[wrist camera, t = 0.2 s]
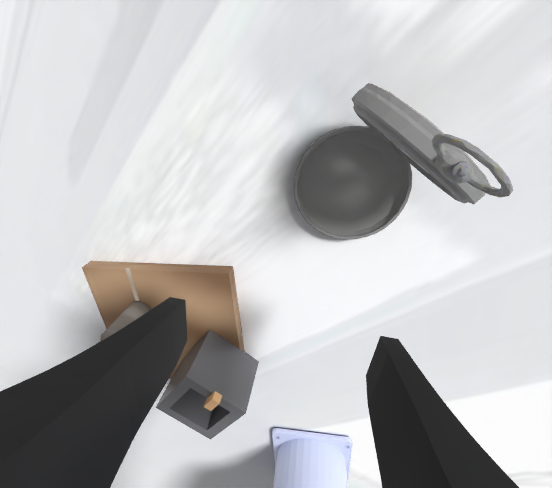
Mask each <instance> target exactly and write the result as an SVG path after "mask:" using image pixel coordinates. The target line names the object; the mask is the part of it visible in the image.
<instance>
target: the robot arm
mask: <svg viewBox="0 0 552 488" xmlns="http://www.w3.org/2000/svg"><path fill="white" fill-rule="evenodd" d="M186 342H187V321H186V302H185V300H183V299H178V298H173V297H169V298H168V299H166V300H165V301H163V302H162V303H160V304H159V305H157V306H156V307H154V308H153V309H151V310H150V311H148V312H147V313H145V314H144V315H142V316H141V317H139V318H138V319H136V320H135V321H133V322H131V323H130V324H128V325H127V326H125V327H124V328H122V329H121V330H119V331H117V332H116V333H114V334H112V335H111V336H109V337H107V338H106V339H104V340H102V341H101V342H99V343H97V344H96V345H94V346H92V347H91V348H89V349H87V350H85V351H84V352H82V353H80V354H78V355H76V356H74V357H73V358H71V359H69V360H67V361H65V362H63V363H61V364H59V365H57V366H55V367H53V368H51V369H49V370H47V371H45V372H43V373H41V374H38V375H36V376H34V377H32V378H30V379H27V380H25V381H23V382H21V383H18V384H16V385H14V386H12V387H10V388H7V389H5V390H3V391H0V488H110V487H111V484H112V482H113V480H114V478H115V476H116V474H117V472H118V469H119V467H120V465H121V463H122V461H123V459H124V457H125V455H126V453H127V451H128V449H129V447H130V445H131V443H132V441H133V439H134V437H135V435H136V433H137V431H138V429H139V428H140V426H141V424H142V422H143V421H144V419H145V417H146V416H147V414H148V412H149V411H150V409H151V407H152V406H153V404H154V402H155V401H156V399H157V397H158V396H159V394H160V392H161V391H162V389H163V387H164V386H165V384H166V382H167V380H168V379H169V377H170V375H171V374H172V372H173V370H174V368H175V367H176V365H177V363H178V360H179V358H180V356H181V354H182V352H183V349H184V347H185V345H186ZM366 382H367V399H368V408H369V414H370V420H371V426H372V431H373V437H374V442H375V448H376V453H377V459H378V464H379V470H380V475H381V481H382V488H519V487H518V486H517V485H516V484H515V483H514V482H513V481H512V480H511V479H510V478H509V477H508V476H507V475H506V474H505V472H504V471H503V470H502V469H501V468H500V467H499V466H498V465H497V464H496V463H495V462H494V460H493V459H492V458H491V457H490V456H489V455H488V454H487V453H486V452H485V451H484V450H483V448H482V447H481V446H480V445H479V444H478V443H477V442H476V441H475V439H474V438H473V437H472V436H471V435H470V434H469V432H468V431H467V430H466V429H465V428H464V426H463V425H462V424H461V423H460V421H459V420H458V419H457V418H456V417H455V415H454V414H453V413H452V412H451V411H450V409H449V408H448V407H447V405H446V404H445V403H444V402H443V400H442V399H441V398H440V396H439V395H438V394H437V392H436V391H435V390H434V388H433V387H432V386H431V384H430V383H429V382H428V380H427V379H426V378H425V376H424V375H423V373H422V372H421V371H420V369H419V368H418V366H417V365H416V364H415V362H414V361H413V359H412V358H411V356H410V355H409V354H408V352H407V351H406V349H405V348H404V347H403V345H402V344H401V342H400V341H399V340H398V339H394V338H389V337H384V336H380V339H379V342H378V344H377V347H376V350H375V352H374V355H373V358H372V361H371V363H370V366H369V369H368V372H367V374H366ZM272 439H273V450H274V461H275V475H274V483H273V488H348V487H347V484H348V476H349V467H350V459H351V451H352V439H351V438H349V437H344V436H336V435H328V434H320V433H312V432H304V431H296V430H288V429H280V428H274V429H273V431H272Z"/></svg>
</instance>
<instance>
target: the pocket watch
mask: <svg viewBox="0 0 552 488" xmlns="http://www.w3.org/2000/svg"><path fill="white" fill-rule="evenodd" d="M352 101H353V103H354V110H355V112H356V114H357V115H358V116H359V117H360V118H361V119H362V120H363V121H364V122H365V123H366V124H367V125H368V126H369V127H367V126H349V127H344V128H340V129H336V130H334V131H332V132H330V133H328V134H326V135H324V136H322V137H321V138H319V139H318V140H317V141H316V142H315V143H314V144H313V145H312V146H311V147H310V148H309V149H308V150H307V151H306V152H305V153H304V155H303V158H302V160H301V162H300V164H299V166H298V168H297V171H296V174H295V184H294V192H295V198H296V203H297V205H298V208H299V210H300V212H301V214H302V215H303V217H304V218H305V219H306V221H307V222H308V223H309V224H310V225H311V226H313V227H314V228H315V229H316V230H318V231H320V232H321V233H323V234H325V235H328V236H331V237H334V238H339V239H358V238H363V237H367V236H370V235H373V234H375V233H377V232H379V231H381V230H383V229H384V228H386V227H387V226H388V225H389V224H390V223H392V222H393V221H394V220H395V219H396V218H397V216H398V215H399V214H400V213H401V211H402V210H403V209H404V207H405V205H406V203H407V201H408V198H409V194H410V191H411V187H412V171H411V167H410V164H411V165H413V166H414V167H415V168H416V169H417V170H418V171H420V172H421V173H422V174H423V175H424V176H426V177H427V178H428V179H429V180H431V181H432V182H433V183H434V184H435V185H437V186H438V187H439V188H441V189H442V190H443V191H444V192H446V193H447V194H448V195H450V196H451V197H452V198H454V199H455V200H457V201H460V202H462V203H467V202H469V203H472V204H475V203H476V202H477V201H478V200H480V199H481V198H482V197H483V196H484V195H485V193H487V194H489V195H493V196H497V197H505V196H509V195H510V194H511V192H512V191H513V187H512V184H511V182H510V179H509V177H508V176H507V175H506V173H505V172H504V171H503V170H502V168H501V167H500V166H499V165H498V164H497V163H496V162H495V161H493V160H492V159H491V158H490V157H489V156H487V155H486V154H485V153H484V152H483V151H481V150H480V149H479V148H477V147H476V146H474V145H472V144H471V143H469V142H467V141H465V140H463V139H460V138H457V137H454V136H452V135H448V134H444V133H443V132H441V131H440V130H439V129H438V128H437V127H436V126H435V125H434V124H432V123H431V122H430V121H429V120H428V119H427V118H425V117H424V116H422V115H421V114H420V113H418V112H417V111H415V110H414V109H413V108H411V107H410V106H408V105H407V104H406V103H404V102H403V101H401V100H400V99H399V98H397V97H396V96H394V95H393V94H392V93H390V92H388V91H386V90H384V89H382V88H380V87H377V86H375V85H373V84H367V85H366V86H365V87H364V88H362V89H361V90H359V91H358V92H357V93H356V94H355V96H354V97H353V98H352ZM464 151H465V152H467V153H469V154H470V155H471V156H473V157H474V158H475V159H477V160H478V161H479V162H481V163H482V164H483V165H485V166H486V167H487V168H488V169H489V170H490V171H491V172H492V174H493V175H494V176H495V178H496V179H497V180H498V182H499V183H500V184H501V189H497V188H494V187H491V186H490V184H489V182H488V180H487V178H486V176H485V175H484V174H483V173H482V171H481V170H480V169H479V168H478V167H477V165H476V164H475V163H474V162H473V161H472V160H471V158H470V157H469V156H468V155H467V154H466V153H465V152H464Z"/></svg>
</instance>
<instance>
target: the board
mask: <svg viewBox="0 0 552 488" xmlns="http://www.w3.org/2000/svg"><path fill="white" fill-rule="evenodd" d="M82 269H83V272H84V274H85V276H86V279H87V281H88V284H89V286H90V289H91V291H92V294H93V296H94V299H95V301H96V304H97V306H98V308H99V311H100V313H101V316H102V318H103V321H104V323H105V326H106V328H107V330H106V331H105V332H104V333H103V334H102V335H101V341H102V340H104V339H106V338H107V337H109V336H111V335H112V334H114V333H116V332H117V331H119V330H121V329H122V328H124V327H125V326H127V325H128V324H130V323H131V322H133V321H135V320H136V319H138V318H139V317H141V316H142V315H144V314H145V313H147V312H148V311H150V310H151V309H153V308H154V307H156V306H157V305H159V304H160V303H162V302H163V301H165V300H166V299H168V298H169V297H173V298H178V299H183V300H185V302H186V321H187V342H186V345H185V347H184V349H183V352H182V354H181V356H180V358H179V360H178V363H177V365H176V367H175V368H174V370H173V372H172V374H171V375H170V377H169V378H171V379H172V377H173V375H174V373H175V372H176V370H177V368H178V366H179V364H180V363H181V361H182V359H183V358H184V357H185V356H186V355H187V354H188V353H189V352H190V350H191V349H192V348H193V347H194V346H195V345H196V344H197V343H198V342H199V341H200V340H201V339H202V337H203V336H204V335H205V334H206V333H207V332H208V331H209V330H212V331H213V332H215V333H216V334H218V335H219V336H221V337H222V338H224V339H225V340H227V341H228V342H230V343H231V344H233V345H234V346H236V347H237V348H239V349H240V350H242V351H243V352H244V346H243V339H242V331H241V324H240V316H239V309H238V301H237V294H236V286H235V279H234V271H233V266H208V265H181V264H154V263H127V262H100V261H91V262H89V263H88V264H86V265H85V266H83V267H82Z"/></svg>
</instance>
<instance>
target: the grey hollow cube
mask: <svg viewBox="0 0 552 488" xmlns="http://www.w3.org/2000/svg"><path fill="white" fill-rule="evenodd" d="M258 362H259V361H257V360H256V359H254V358H252V357H251V356H249V355H248V354H246V353H245V352H243V351H242V350H240V349H239V348H237V347H236V346H234V345H233V344H231V343H230V342H228V341H227V340H225V339H224V338H222V337H221V336H219V335H218V334H216V333H215V332H213V331H212V330H209V331H208V332H207V333H206V334H205V335H204V336H203V337H202V339H201V340H200V341H199V342H198V343H197V344H196V345H195V346H194V347H193V348H192V349H191V350H190V352H189V353H188V354H187V355H186V356H185V357H184V358H183V359H182V361H181V363H180V364H179V366H178V368H177V370H176V372H175V373H174V375H173V377H172V379H171V381H170V383H169V384H168V386H167V388H166V390H165V392H164V394H163V395H162V397H161V399H160V401H159V403H158V404H157V406H156V408H158V409H159V410H161V411H163V412H164V413H166V414H168V415H170V416H171V417H173V418H175V419H176V420H178V421H180V422H182V423H183V424H185V425H187V426H188V427H190V428H192V429H194V430H195V431H197V432H199V433H200V434H202V435H204V436H206V437H207V438H209V439H212V438H213V437H214V436H216V435H217V434H218V433H220V432H221V431H222V430H224V429H225V428H226V427H228V426H229V425H230V424H232V423H233V422H235V421H236V420H237V419H239V418H240V417H241V416H243V415H244V414H245V413H246V410H247V406H248V402H249V398H250V394H251V390H252V386H253V382H254V378H255V374H256V370H257V366H258Z"/></svg>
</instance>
